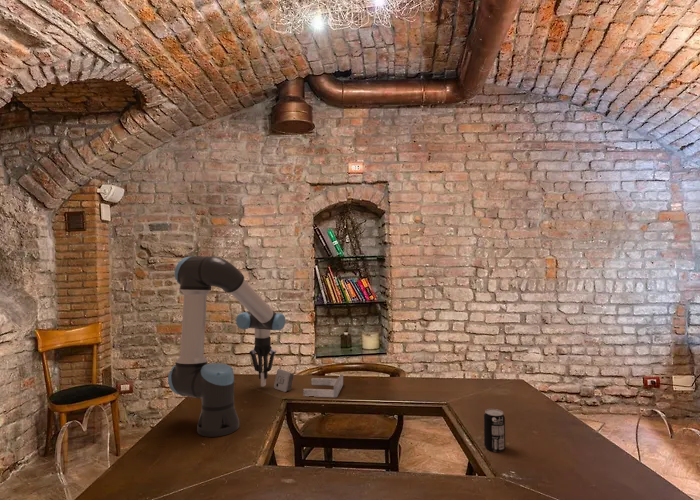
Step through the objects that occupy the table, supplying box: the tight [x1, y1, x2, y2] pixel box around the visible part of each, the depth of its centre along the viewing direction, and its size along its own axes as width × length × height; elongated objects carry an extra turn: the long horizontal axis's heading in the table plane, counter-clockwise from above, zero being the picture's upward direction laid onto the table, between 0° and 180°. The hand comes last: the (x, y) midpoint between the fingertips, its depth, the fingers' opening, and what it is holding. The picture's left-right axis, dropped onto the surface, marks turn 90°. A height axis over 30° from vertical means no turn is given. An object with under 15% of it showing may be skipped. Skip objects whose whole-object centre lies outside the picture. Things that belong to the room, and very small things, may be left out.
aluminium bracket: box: [302, 374, 344, 398], centre depth 206 cm, size 18×16×5 cm
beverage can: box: [483, 408, 506, 453], centre depth 145 cm, size 7×7×12 cm
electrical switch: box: [273, 368, 295, 393], centre depth 208 cm, size 9×5×9 cm, turn 46°
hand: (263, 385), depth 210 cm, fingers closed
